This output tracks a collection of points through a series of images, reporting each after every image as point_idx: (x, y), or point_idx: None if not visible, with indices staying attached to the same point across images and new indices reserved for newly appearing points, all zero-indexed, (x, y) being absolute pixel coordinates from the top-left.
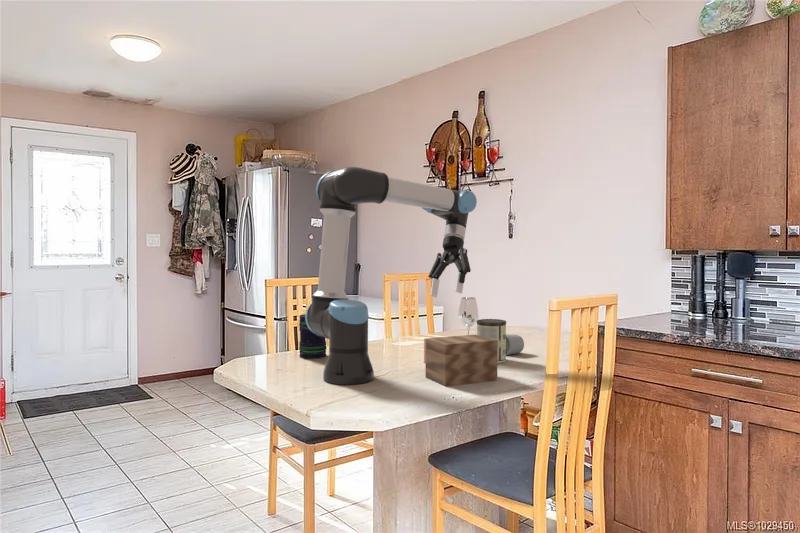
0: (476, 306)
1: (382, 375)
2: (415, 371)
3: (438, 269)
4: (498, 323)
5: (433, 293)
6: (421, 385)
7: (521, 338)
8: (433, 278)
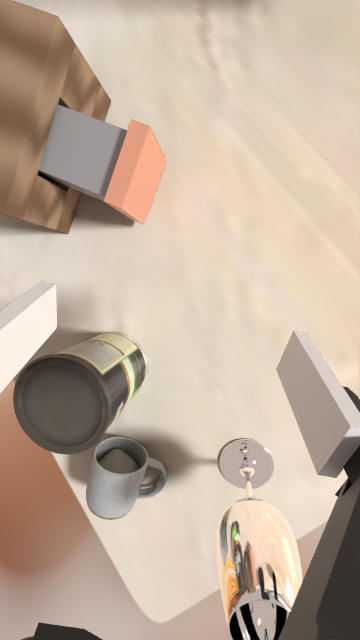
0: (220, 587)
1: (200, 28)
2: (169, 131)
3: (345, 525)
4: (18, 378)
5: (292, 353)
6: (69, 34)
7: (87, 502)
8: (355, 425)
